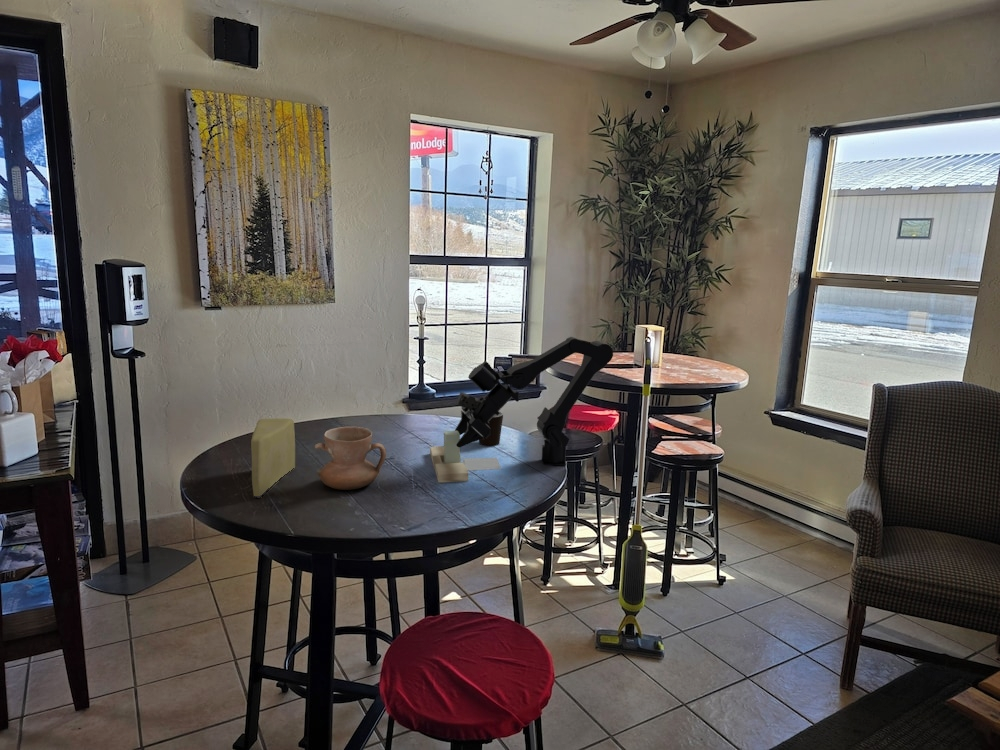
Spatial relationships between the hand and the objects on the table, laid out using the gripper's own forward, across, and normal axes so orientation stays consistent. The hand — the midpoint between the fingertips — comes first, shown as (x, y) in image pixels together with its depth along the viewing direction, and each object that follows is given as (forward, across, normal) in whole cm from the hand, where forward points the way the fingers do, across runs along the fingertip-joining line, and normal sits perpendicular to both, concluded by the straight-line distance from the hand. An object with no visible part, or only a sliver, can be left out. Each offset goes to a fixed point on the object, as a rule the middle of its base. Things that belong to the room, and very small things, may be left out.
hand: (455, 441), depth 182 cm
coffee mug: (-4, -22, +16) cm, 27 cm away
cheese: (+40, +5, -30) cm, 51 cm away
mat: (0, -1, +11) cm, 11 cm away
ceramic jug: (+26, +9, -15) cm, 31 cm away
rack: (+6, 0, +5) cm, 8 cm away
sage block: (+6, 0, +4) cm, 8 cm away
